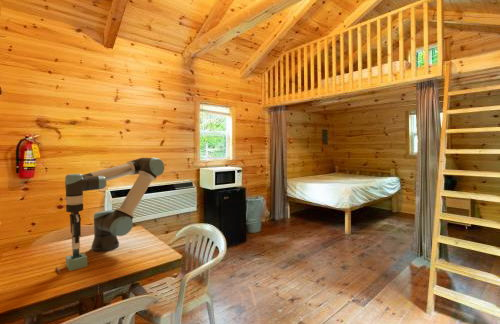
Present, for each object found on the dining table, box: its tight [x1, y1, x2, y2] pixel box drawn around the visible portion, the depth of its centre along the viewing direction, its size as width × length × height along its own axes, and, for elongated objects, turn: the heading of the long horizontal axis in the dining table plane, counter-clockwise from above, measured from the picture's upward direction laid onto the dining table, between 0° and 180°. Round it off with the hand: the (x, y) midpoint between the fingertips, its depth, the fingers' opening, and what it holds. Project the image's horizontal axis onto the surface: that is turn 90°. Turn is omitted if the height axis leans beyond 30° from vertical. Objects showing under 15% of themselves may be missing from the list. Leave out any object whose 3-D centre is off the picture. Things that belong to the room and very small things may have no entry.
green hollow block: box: [65, 252, 88, 272], centre depth 138 cm, size 8×8×5 cm
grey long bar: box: [71, 225, 80, 257], centre depth 138 cm, size 3×3×17 cm
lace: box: [55, 266, 62, 274], centre depth 133 cm, size 8×1×1 cm, turn 45°
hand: (75, 247), depth 138 cm, fingers closed on grey long bar, 3 cm apart
